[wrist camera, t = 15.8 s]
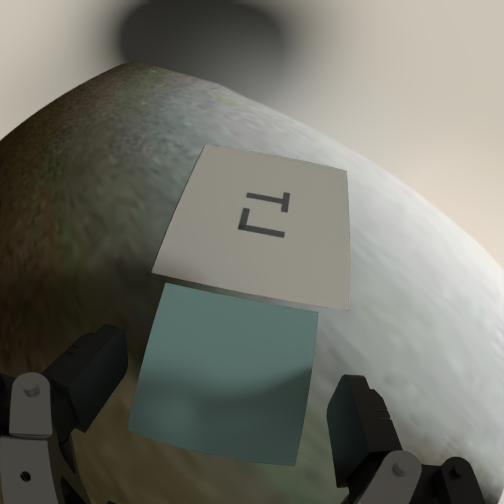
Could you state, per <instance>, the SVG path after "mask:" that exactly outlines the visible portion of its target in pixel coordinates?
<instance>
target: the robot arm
mask: <svg viewBox="0 0 504 504" xmlns="http://www.w3.org/2000/svg"><path fill="white" fill-rule="evenodd" d="M127 367H128V356H127V344H126V333H125V331H124V330H123V329H120V328H117V327H114V326H112V325H109V324H104V325H103V326H102V327H101V328H100V329H99V330H97V331H96V332H95V333H93V332H90V333H88V334H86V335H83V336H81V337H79V338H78V339H77V340H76V341H75V342H74V343H73V344H72V346H70V347H69V348H68V349H66V352H63V353H62V354H61V355H60V356H59V357H58V358H57V359H56V360H55V361H54V362H53V363H52V364H51V365H50V366H49V367H48V368H46V369H45V370H44V371H43V372H42V373H41V374H38V373H32V372H31V373H25V374H22V375H20V376H19V377H18V378H14V377H11V376H8V375H5V374H2V373H0V470H1V483H2V492H3V499H4V504H91V502H90V499H89V496H88V494H87V491H86V489H85V487H84V485H83V483H82V481H81V478H80V474H79V470H78V466H77V461H76V456H75V452H74V446H73V441H72V436H71V432H72V431H73V429H74V428H76V429H78V430H80V431H82V432H84V433H85V432H86V431H87V429H88V428H89V426H90V425H91V423H92V422H93V420H94V419H95V417H96V416H97V414H98V413H99V412H100V410H101V409H102V407H103V406H104V404H105V403H106V401H107V400H108V399H109V397H110V396H111V394H112V393H113V391H114V390H115V388H116V387H117V386H118V384H119V383H120V381H121V380H122V379H123V377H124V376H125V374H126V371H127ZM327 423H328V429H329V435H330V442H331V448H332V455H333V462H334V469H335V477H336V484H337V488H342V487H348V488H349V494H348V495H347V496H346V497H345V498H344V500H343V501H342V502H341V504H485V501H484V499H483V496H482V493H481V490H480V487H479V485H478V482H477V479H476V477H475V474H474V472H473V469H472V467H471V465H470V464H469V462H468V461H466V460H465V459H463V458H461V457H451V458H449V459H447V460H446V461H445V462H444V463H443V464H442V465H441V466H433V465H423V464H421V463H420V461H419V460H418V458H417V457H416V456H415V455H413V454H412V453H410V452H407V451H403V449H402V447H401V444H400V441H399V439H398V436H397V433H396V431H395V428H394V425H393V423H392V420H390V415H389V413H388V411H387V408H386V405H385V403H384V400H383V398H382V397H381V396H380V395H379V394H378V393H377V392H376V391H375V390H374V389H370V388H369V386H368V383H367V381H366V378H365V377H364V376H361V375H346V374H345V375H343V376H342V377H341V379H340V381H339V383H338V386H337V388H336V390H335V392H334V394H333V396H332V398H331V400H330V402H329V404H328V408H327ZM107 504H115V503H113V502H111V501H108V503H107Z"/></svg>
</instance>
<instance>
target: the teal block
mask: <svg viewBox="0 0 504 504" xmlns="http://www.w3.org/2000/svg"><path fill="white" fill-rule="evenodd" d="M317 322H318V312H315V311H308V310H302V309H296V308H290V307H285V306H279V305H273V304H268V303H262V302H257V301H251V300H246V299H241V298H236V297H231V296H226V295H221V294H216V293H211V292H207V291H202V290H197V289H193V288H188V287H184V286H179V285H175V284H170V283H165V287H164V290H163V293H162V296H161V299H160V302H159V306H158V309H157V312H156V316H155V319H154V323H153V326H152V329H151V333H150V337H149V340H148V344H147V347H146V351H145V355H144V359H143V363H142V367H141V371H140V375H139V379H138V383H137V387H136V391H135V396H134V400H133V405H132V409H131V414H130V419H129V424H128V429H127V430H129V431H131V432H134V433H137V434H139V435H142V436H145V437H148V438H151V439H154V440H157V441H160V442H163V443H167V444H170V445H173V446H177V447H181V448H184V449H188V450H192V451H196V452H200V453H205V454H209V455H214V456H219V457H224V458H229V459H235V460H241V461H248V462H256V463H264V464H274V465H286V466H295V463H296V458H297V454H298V449H299V444H300V439H301V434H302V428H303V423H304V417H305V411H306V405H307V399H308V393H309V386H310V379H311V372H312V365H313V357H314V349H315V341H316V332H317Z"/></svg>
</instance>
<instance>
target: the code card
mask: <svg viewBox="0 0 504 504" xmlns="http://www.w3.org/2000/svg"><path fill="white" fill-rule="evenodd" d="M151 273H154V274H159V275H163V276H167V277H172V278H176V279H181V280H185V281H190V282H194V283H199V284H203V285H208V286H213V287H218V288H223V289H228V290H233V291H238V292H243V293H248V294H253V295H258V296H263V297H269V298H274V299H280V300H285V301H291V302H297V303H303V304H309V305H315V306H321V307H327V308H333V309H340V310H346V311H349V288H350V224H349V199H348V183H347V171H345V170H341V169H337V168H333V167H329V166H324V165H320V164H316V163H311V162H306V161H302V160H297V159H292V158H287V157H282V156H276V155H271V154H265V153H259V152H253V151H247V150H240V149H233V148H226V147H218V146H210V145H205V147H204V149H203V151H202V153H201V155H200V157H199V159H198V161H197V163H196V166H195V168H194V170H193V172H192V174H191V176H190V178H189V181H188V183H187V185H186V187H185V190H184V192H183V194H182V196H181V199H180V201H179V203H178V206H177V208H176V210H175V213H174V215H173V218H172V220H171V222H170V225H169V227H168V230H167V232H166V235H165V237H164V240H163V242H162V245H161V248H160V250H159V253H158V256H157V258H156V261H155V264H154V266H153V269H152V272H151Z"/></svg>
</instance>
